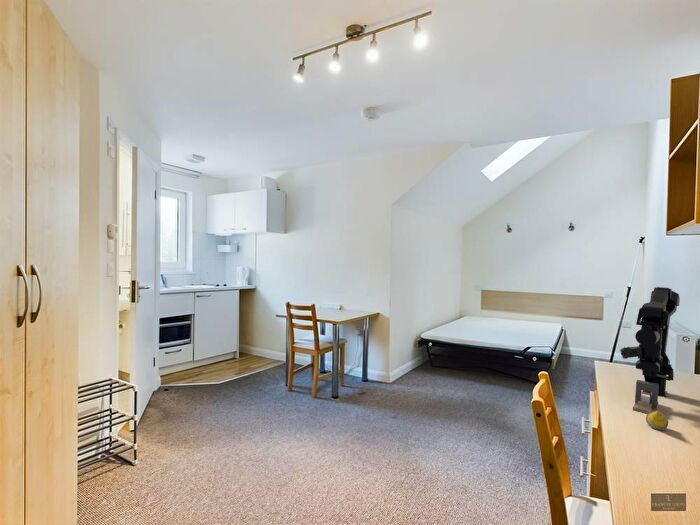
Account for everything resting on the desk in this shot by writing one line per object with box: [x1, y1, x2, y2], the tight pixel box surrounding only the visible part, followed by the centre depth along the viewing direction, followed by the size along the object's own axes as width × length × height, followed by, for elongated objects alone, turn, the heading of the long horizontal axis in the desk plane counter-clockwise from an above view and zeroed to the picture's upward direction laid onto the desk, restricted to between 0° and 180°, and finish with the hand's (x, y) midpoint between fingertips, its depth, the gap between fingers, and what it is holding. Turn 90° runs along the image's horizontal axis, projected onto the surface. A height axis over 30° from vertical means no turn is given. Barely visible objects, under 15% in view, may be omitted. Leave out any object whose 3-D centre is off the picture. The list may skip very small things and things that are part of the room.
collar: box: [634, 379, 659, 409], centre depth 134 cm, size 3×6×7 cm, turn 48°
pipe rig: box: [632, 390, 659, 415], centre depth 134 cm, size 14×6×5 cm, turn 138°
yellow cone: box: [645, 410, 669, 431], centre depth 117 cm, size 5×5×10 cm
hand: (647, 385), depth 136 cm, fingers closed
